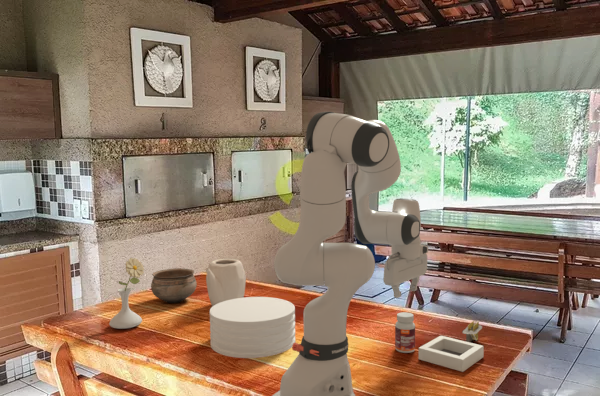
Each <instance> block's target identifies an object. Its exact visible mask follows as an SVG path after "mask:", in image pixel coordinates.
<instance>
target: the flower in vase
mask: <svg viewBox="0 0 600 396" xmlns="http://www.w3.org/2000/svg"><path fill="white" fill-rule="evenodd" d="M144 271H145V268H144V265H143V264H142V262H141V261H140V260H139V259H138V258H136V257H133V258H132V257H130V258H129V259H128V261H127V260H126V262H125V273H127V274H128V275H129V279H128V281H127V283H126V282H122V281H120V280H118V284H119V285H120V286H121V285H122V286H125V287H121V288H118V289H117V292H118V293H119V295H120V299H121V308H120V310H119V312H118V313H116V314H115V315H114V316H113V317H112V318H111V319H110V321H109V323H108V324H109V326H110V327H111V328H114V329H118V330H119V329H120V330H121V329H122V330H123V329H131V328H134V327H137V326H139V325H140V324H141V323H142V322H143V318H142V317H141V316H140V315H139V314H137V313H136V312H134V311H133V310H131V308H130V306H129V297H130V293H131V291H132V288H131V287H128V284H129V283H131V284H133V285H136V284H139V283H140V282H141V281H140V278H141V276H143V274H145V272H144Z"/></svg>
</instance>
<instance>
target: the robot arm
mask: <svg viewBox="0 0 600 396" xmlns="http://www.w3.org/2000/svg"><path fill="white" fill-rule="evenodd" d="M305 141H306V149H307V152H308V154H307V155H306V156H305V158H303V161H302V166H301V167H302V168H301V173H300V185H299V186H300V187H299V194H300V195H299V198H300V213H299V215H300V216H299V225H298V227H297V230H296V231H295V234H294V235H293V236H292V237H291V239H290V240H289V241H288V242H286V243H284V244H283V245H282V246H280V247H279V248H278V250H277V251H276V254H275V256H274V259H273V269H274V272H275V275H276V277H277V278H278V280H280V281H281V282H282V283H283V284H284V283H285V284H290V285H294V286H302V287H303V286H308V287H309V286H310V287H311V286H316V287H317V286H321V287H322V286H323V287H327V290H326V291H325V292H324V293H323V294H321V295H320V296H318V297H316V298H313V299H312V300H310V301H309V302H308V303H307V304H306V305H305V307H304V309H303V317H302V318H303V336H302V338H301V342H300V343H298V342H295V343H293V345H292V347H291V348H292V349H291V350H292V351H294V352H295V351H296V352H298V355H297V356H296V357H295V359H294V360H293V361H292V363H291V364H290V366H289V367H288V368H287V369H286V371H285V372H284V374H282V376H281V380H280V386H279V388H280V389H279V390H278V391H276V392H275V393H274V394H272V395H271V396H356V394H355V392H354V388H353V382H352V381H353V380H352V371H351V366H350V361H349V359H348V354H347V353H348V352H349V337H348V336H347V319H348V309H349V306H350V303H351V300H352V299H353V297H354V296H355V294H356V293H357V291H359V289H361V288H362V287H363V286H364V285H366V284H367V283H368V282H369V281H370V280H371V279H372V277H373V275H374V273H375V268H376V261H375V257H374V255H373V252H372V251H371V249H370V248H369V247H368V246H367V245H371V244H372V245H375V244H377V245H390V246H391V252H390V253H391V254H389V256H388V258H387V259H386V260H385V263H384V268H383V269H384V270H383V279H382V280H383V283H384V285H385V286H390V287H391V288H392V291H393V298H396V299H399V298H402V291H400V287H401V286H400V285H401V284H402V283H403V284H404V283H406V282H408V281H410V280H411V284H409V290H410V291H411V292H415V291H417V290H418V284H419V281H420V277H422V276H423V275H426V274H427V270H428V253H429V246H427V245H425V244H422V243H421V240H422V239H421V236H420V234H421V228H422V226H421V223H422V222H421V220H422V219H421V218H422V217H421V211H420V210H421V209H420V205H419V204H420V203H419V200H417V199H413V198H396V199H394V200H393V204H392V209H391V211H379V210H378V211H377V210H373V209H371V208H370V196H369V195H372V194H375V193H380V192H383V191H385V190H387V189H389V188H391V187H392V186H393V185H394V184H395V183H396V182H397V180H399V177H400V175H401V172H402V165H401V159H400V155H399V151H398V147H397V144H396V141H395V139H394V137H393V134H392V132H391V130H390V127H388V125H387V124H386V123H385V122H383V121H381V120H378V119H369V120H364V119H362V118H359V117H356V116H354V115H351V114H346V113H345V114H344V113H337V112H336V113H335V112H333V111H320V112H318V113H316V114H314V115H313V116H312V117H311V119H310V120H309V122H308V124H307V127H306V132H305ZM347 164H352V165H357V168H358V170H356V171H355V172H354V173H353V176H352V179H351V187H350V188H351V202H352V211H353V219H354V220H353V232H354V233H353V234H354V236H355V238H357V240H358V241H359V242H360V243H361V244H358V243H353V242H324V241H326V240H327V239H328V238H331V237H333V236H334V235H337V234H338V233H339V232H341V230H342V229H343V228H344V226H345V224H346V221H347V220H346V218H347V207H346V206H347V188H346V177H345V170H346V168H347ZM362 244H363V245H362Z"/></svg>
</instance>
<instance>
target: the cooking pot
mask: <svg viewBox="0 0 600 396" xmlns="http://www.w3.org/2000/svg"><path fill="white" fill-rule="evenodd" d="M194 274H195V270H193V269H190V268H185V267H184V268H182V267H181V268H179V267H177V268H166V269H160V270H157V271H155V272H153V273H152V274H151V275H152V276H153V277H152V281H151V283H150V284H151V285H150V289H151V292H152V294H153V295H154V296H155V297H156V298H158V299H159V300H161V301H164V302H166V303H168V304H177V303H181V302H183V301H184V300H186V299H187V298H189V297H190V296H192V295H193V294H194V292H195V291H196V288H197V283H198V282H197V280H196V277H195V275H194Z"/></svg>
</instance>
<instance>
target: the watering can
mask: <svg viewBox="0 0 600 396" xmlns="http://www.w3.org/2000/svg"><path fill="white" fill-rule="evenodd" d="M204 270H205V272H206V277H205V281H206V282H205V283H206V288H207V289H206V290H207V293H208V294H207V295H208V299H209V301H210V305H211V307H213V306H214V305H216V304H218V303H220V302H223V301H227V300H231V299H236V298H244V296H245V293H246V292H245V291H246V281H247V278H246V272H245V268H244V265H243V262H242V261H241V260H239V259H237V258H236V259H235V258H219V259H214V260H212V261H211V262H210V263H208V267H206V268H205V269H204Z"/></svg>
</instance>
